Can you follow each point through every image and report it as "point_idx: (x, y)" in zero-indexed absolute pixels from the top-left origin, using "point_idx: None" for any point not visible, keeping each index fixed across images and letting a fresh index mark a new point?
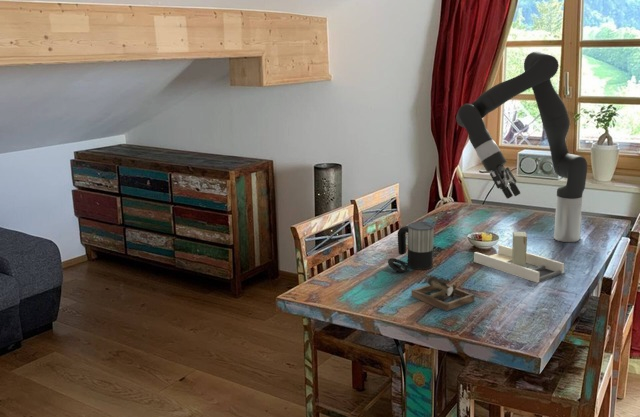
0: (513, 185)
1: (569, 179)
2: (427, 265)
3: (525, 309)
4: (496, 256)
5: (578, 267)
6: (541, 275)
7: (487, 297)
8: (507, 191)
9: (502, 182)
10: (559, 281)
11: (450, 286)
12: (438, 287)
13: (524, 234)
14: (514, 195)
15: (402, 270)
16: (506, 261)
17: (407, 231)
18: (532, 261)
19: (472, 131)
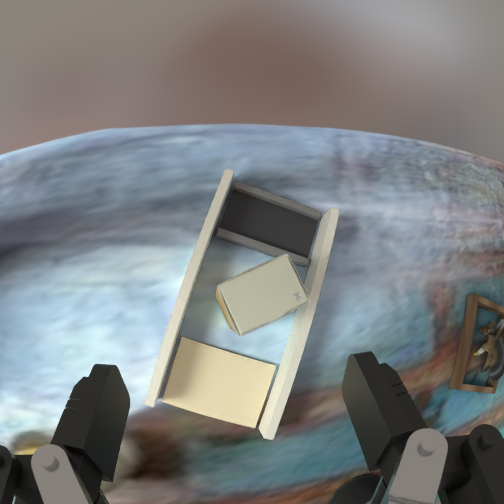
0: (94, 458)
1: None
2: (375, 479)
3: (447, 203)
4: (191, 393)
5: (159, 162)
6: (279, 222)
7: (447, 282)
8: (407, 396)
9: (502, 445)
10: (288, 176)
11: (467, 354)
12: (497, 352)
13: (261, 274)
14: (128, 407)
15: None
16: (303, 320)
17: None
18: (197, 273)
19: None
